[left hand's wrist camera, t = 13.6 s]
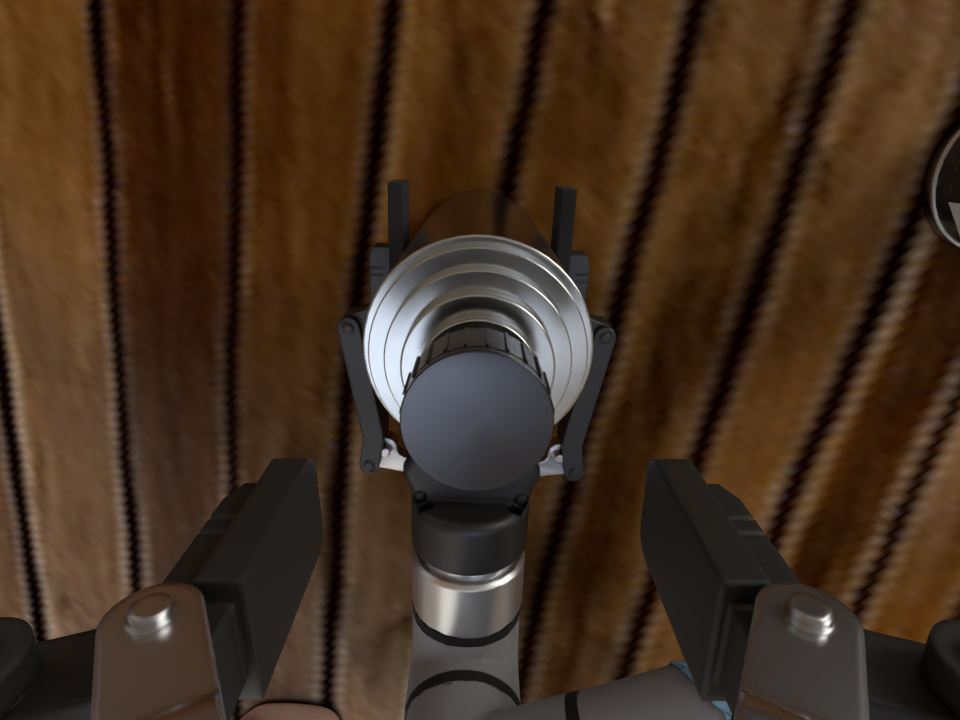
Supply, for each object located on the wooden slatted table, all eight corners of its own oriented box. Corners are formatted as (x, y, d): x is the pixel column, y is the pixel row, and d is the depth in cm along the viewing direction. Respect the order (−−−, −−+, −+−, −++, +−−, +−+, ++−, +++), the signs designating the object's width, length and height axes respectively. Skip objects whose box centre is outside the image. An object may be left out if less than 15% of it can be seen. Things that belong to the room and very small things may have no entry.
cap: (578, 389, 17) (589, 419, 15) (481, 480, 18) (481, 519, 16) (473, 295, 16) (472, 315, 14) (377, 397, 17) (365, 428, 15)
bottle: (566, 250, 38) (694, 409, 15) (482, 336, 40) (484, 590, 17) (475, 162, 36) (466, 193, 13) (393, 257, 39) (262, 425, 16)
